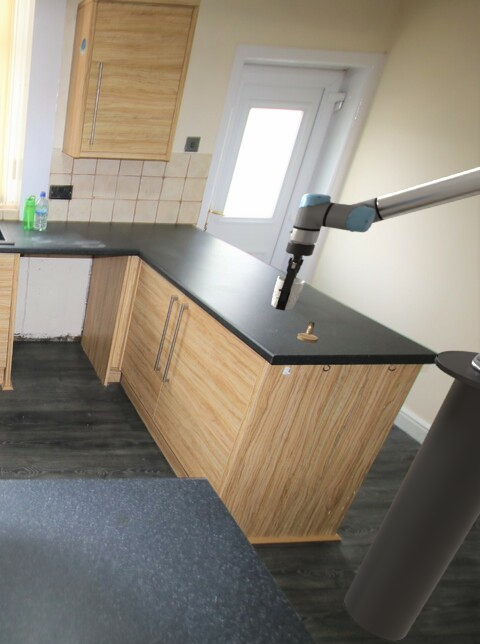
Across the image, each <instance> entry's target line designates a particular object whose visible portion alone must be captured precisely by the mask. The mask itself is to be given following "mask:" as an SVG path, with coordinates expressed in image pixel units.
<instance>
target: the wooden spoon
mask: <svg viewBox="0 0 480 644" xmlns="http://www.w3.org/2000/svg"><path fill="white" fill-rule="evenodd" d="M307 325H308V326H307V328H306V332H299V333H298V334H297V336H296V337H297V339H298V340H300V341H302V342H305V343H310V344H316V343H318V340H319V337H318V336H316V335H314V334H313V331H314V327H315V322H314V321H309V322H308V324H307Z"/></svg>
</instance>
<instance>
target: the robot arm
mask: <svg viewBox="0 0 480 644" xmlns="http://www.w3.org/2000/svg"><path fill="white" fill-rule="evenodd" d="M479 195H480V166H476V167H473V168H469V169H466V170H464V171H460V172H456V173H453V174H450V175H446V176H443V177H439V178H436V179H434V180H429V181H426V182H423V183H419V184H417V185H414V186H410V187H406V188H403V189H400V190H396V191H393V192H390V193H387V194H384V195H380V196H378V197H374V198H370V199H367V200H366V199H365V200H363V201H360V202H356V203H352V204H346V203H336V202H331V201H332V200H331V199H332V197H331V196H330V195H329V194H323V193H306V194H304V195H303V196H302V198H301V201H300V203H299V206H298V208H297V212H296V216H295V219H294V223H293V225H292V229H290V230H289V231H288V232H289V234H290V236H289V241H288V242H287V245H286V249H285V252H286V253H287V254H290V255H292V256H290V257H289V259H288V262H287V267H286V275H285V276H286V277H285V281H284V284H283V287H282V288H281V289H279V291H281V293H280V296H279V299H278V302H277V305H276V307H275V310H279V311H283V312H285V311H286V310H285V308H286V305H287V302H288V299H289V295H290V292H291V288H292V285H293V282H294V279H295V278H297V275H298V274H299V272H300V270H301V267H302V266H303V263H304V261H305V259H303V258H304V257H311V256H312V255H313V254H314V250H315V247H316V245H315V244H316V243H317V242H318V239H319V236H320V233H321V229H322V227H323V228H331V229H337V230H343V231H347V232H348V231H349V232H350V233H354V232H355V233H366V232H368V231H369V229H370V228H371V227H372V225H373V224H374V223H378V222H382V221H386V220H389V219H393V218H396V217H400V216H405V215H408V214H412V213H416V212H419V211H423V210H428V209H431V208H434V207H439V206H442V205H445V204H450V203H453V202H457V201H461V200H465V199H469V198H473V197H476V196H479ZM288 288H289V289H288ZM478 353H479V354H478V355H477V356H476V357H475V358H474V359H473V360H472V362H471V367H472V368H474V369H475V370H477V371H478V372H480V352H478Z"/></svg>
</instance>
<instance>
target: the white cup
mask: <svg viewBox="0 0 480 644" xmlns="http://www.w3.org/2000/svg"><path fill="white" fill-rule="evenodd" d="M285 277H286V275H279V276H278V277H277V278H276V283H275V286H274V289H273V293H272V298H271V302H270V305H271V306H272V307H273V308H276V305H277V302H278V299H279V296H280V293H281V291H279V289H281V288H282V287H283V284H284V281H285ZM304 286H305V280H303V279H302V278H299V277H296V278H295V279H294V282H293V285H292V288H291V292H290V295H289V299H288V302H287V305H286V308H285V311H292V310H294V308H295V305H296V303H297V301H298V299H299V297H300V295H301V292H302V290H303V287H304ZM288 289H289V288H288Z"/></svg>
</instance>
